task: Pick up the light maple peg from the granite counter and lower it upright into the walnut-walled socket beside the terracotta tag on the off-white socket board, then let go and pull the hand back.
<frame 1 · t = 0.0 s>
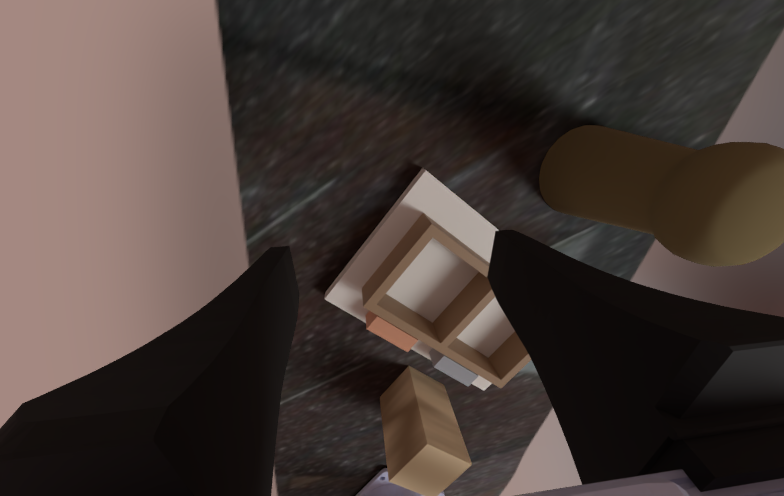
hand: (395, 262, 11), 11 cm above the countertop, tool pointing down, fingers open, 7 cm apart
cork: (578, 171, 22), on the countertop
socket board: (455, 291, 25), on the countertop
maple peg: (412, 391, 28), on the countertop
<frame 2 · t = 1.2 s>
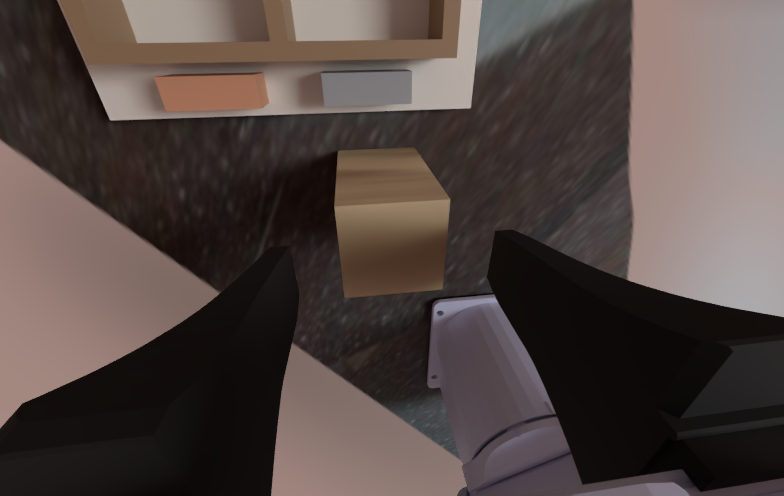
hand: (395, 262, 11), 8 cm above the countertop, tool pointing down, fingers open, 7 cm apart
maple peg: (377, 185, 18), on the countertop
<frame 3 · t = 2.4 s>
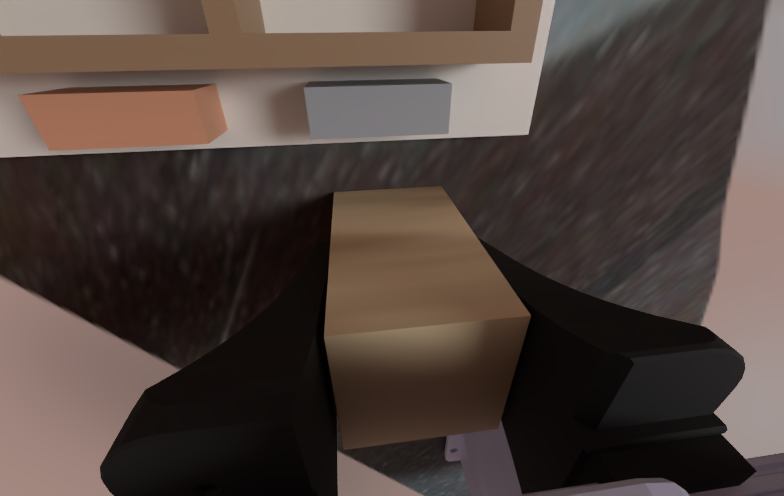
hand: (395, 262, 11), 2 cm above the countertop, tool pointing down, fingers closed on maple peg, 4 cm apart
maple peg: (389, 235, 13), on the countertop, touching gripper
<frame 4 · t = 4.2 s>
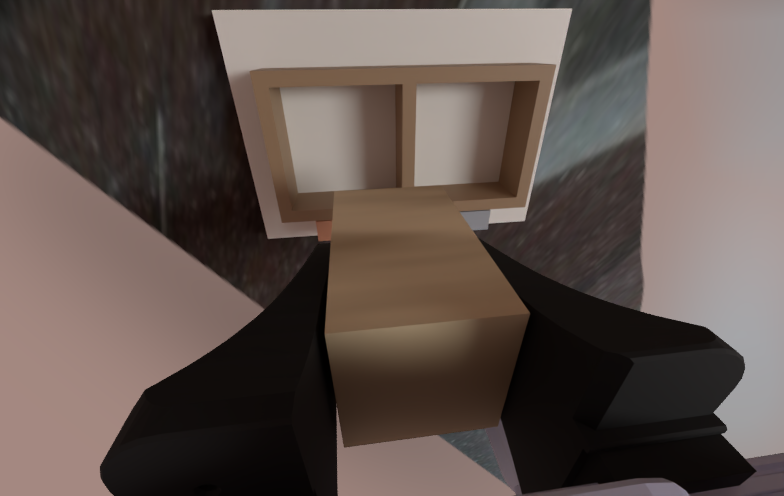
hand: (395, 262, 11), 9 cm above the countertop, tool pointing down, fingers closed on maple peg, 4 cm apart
socket board: (398, 133, 18), on the countertop
maple peg: (389, 234, 13), point 7 cm above the countertop, touching gripper
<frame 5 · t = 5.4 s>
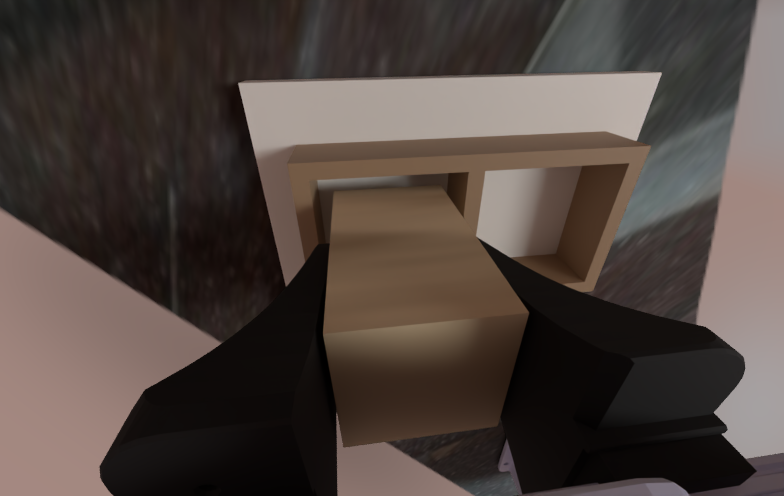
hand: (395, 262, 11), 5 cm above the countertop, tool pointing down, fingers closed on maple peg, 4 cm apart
socket board: (445, 204, 16), on the countertop
maple peg: (389, 234, 13), point 3 cm above the countertop, touching gripper
when the fingers open (4 cm above the countertop, at t = 6.0 s): maple peg stays where it is, resting on socket board.
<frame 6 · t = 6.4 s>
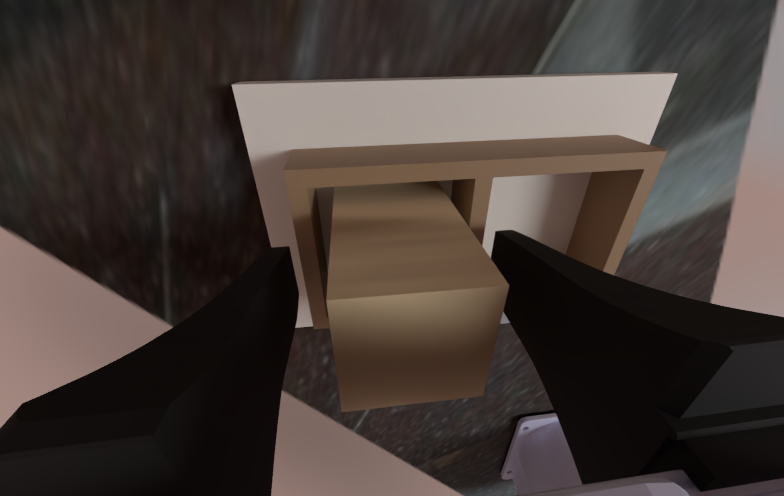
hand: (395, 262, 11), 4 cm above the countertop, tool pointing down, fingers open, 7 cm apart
socket board: (449, 210, 15), on the countertop
maple peg: (386, 224, 14), point 1 cm above the countertop, touching socket board
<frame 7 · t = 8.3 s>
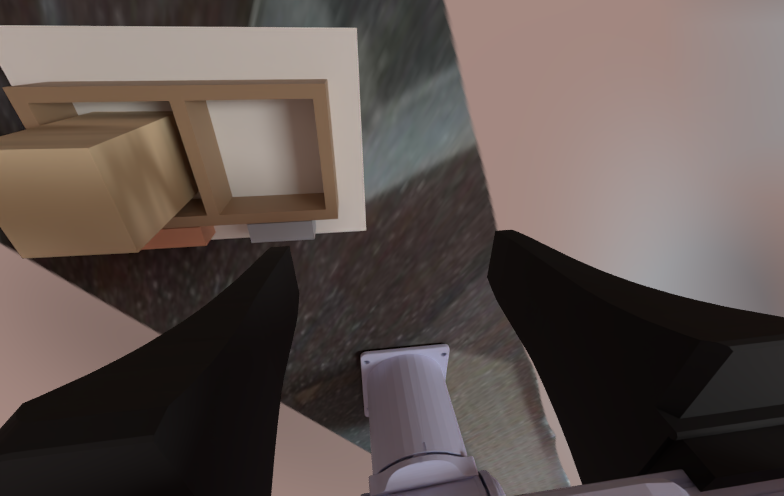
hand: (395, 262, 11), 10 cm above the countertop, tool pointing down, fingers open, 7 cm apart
socket board: (219, 145, 18), on the countertop
maple peg: (152, 151, 17), point 1 cm above the countertop, touching socket board
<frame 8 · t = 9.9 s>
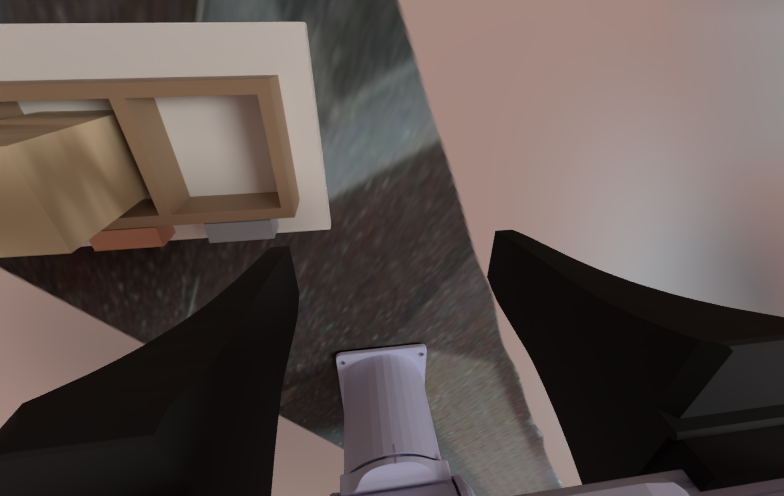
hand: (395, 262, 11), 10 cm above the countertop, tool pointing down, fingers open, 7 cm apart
socket board: (175, 144, 18), on the countertop
maple peg: (104, 151, 17), point 1 cm above the countertop, touching socket board
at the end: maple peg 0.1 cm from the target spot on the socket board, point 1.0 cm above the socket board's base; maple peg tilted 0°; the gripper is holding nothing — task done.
